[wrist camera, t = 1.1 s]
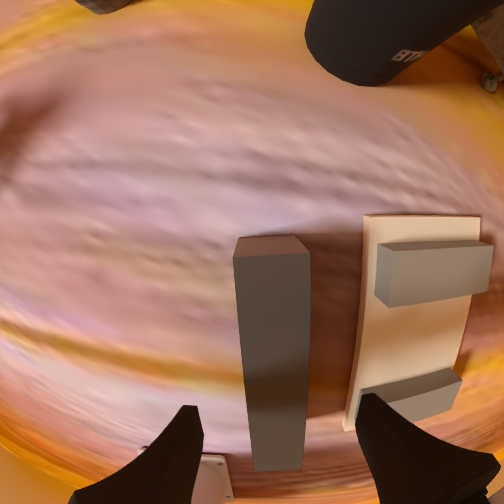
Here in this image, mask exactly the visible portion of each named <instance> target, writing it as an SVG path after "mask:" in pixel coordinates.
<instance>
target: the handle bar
mask: <svg viewBox="0 0 504 504" xmlns="http://www.w3.org/2000/svg"><path fill="white" fill-rule="evenodd" d="M233 266H234V278H235V290H236V301H237V312H238V323H239V334H240V345H241V355H242V365H243V375H244V385H245V394H246V404H247V413H248V422H249V431H250V439H251V448H252V456H253V464H254V472H267V471H282V470H293V469H302V462H303V452H304V441H305V429H306V415H307V400H308V382H309V359H310V320H311V264H310V252H309V251H308V249H307V248H306V247H305V246H304V245H303V244H302V243H301V242H300V241H299V240H298V239H297V238H296V237H295V236H294V235H293V234H290V235H273V236H257V237H241V238H238V242H237V245H236V248H235V252H234V255H233Z"/></svg>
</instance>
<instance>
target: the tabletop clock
mask: <svg viewBox="0 0 504 504" xmlns="http://www.w3.org/2000/svg"><path fill="white" fill-rule="evenodd" d="M471 26H472V28H473V29H474V31H475V32H476V34H477V36H478V37H479V39H480V40H481V41H482V43H483V44H484V46H485V47H486V48H487V50H488V51H489V53H490V54H491V56H492V57H493V59H494V60H495V62H496V63H497V65H498V66H499V68H500V69H501V71H500V72H499V73H497V74H496V75H493V74H491V73H489V72H484V73H483V74H482V75H481V77H480V82H481V85H482V87H483V88H484V89H485V90H487V91H490V92H493V91H495V90H496V89H497V86H498V81H501V80H504V4H502V5H500V6H499V7H497V8H495V9H494V10H492V11H490V12H489V13H487V14H486V15H484V16H482V17H481V18H479V19H477V20H476V21H474V22H473V23H471Z"/></svg>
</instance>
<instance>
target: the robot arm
mask: <svg viewBox="0 0 504 504" xmlns="http://www.w3.org/2000/svg"><path fill="white" fill-rule="evenodd" d="M355 429H356V433H357V437H358V441H359V444H360V446H361V449H362V451H363V454H364V456H365V459H366V461H367V463H368V466H369V468H370V471H371V473H372V476H373V478H374V481H375V484H376V488H377V492H378V496H379V501H380V504H504V487H503V488H501V489H500V490H499V491H497V492H496V493H494V494H493V495H492V496H490V497H489V498H488V499H487V497H486V496H485V495H486V494H487V493H488V491H487V489H486V486H487V485H488V484H489V483H490V482H491V481H492V480H493V479H494V477H495V476H496V475H497V474H498V472H499V471H500V468H501V465H500V464H499V462H498V461H497V460H496V458H495V457H494V456H493V454H490V453H483V452H477V451H472V450H468V449H464V448H461V447H458V446H455V445H452V444H450V443H447V442H445V441H442V440H440V439H438V438H436V437H434V436H432V435H430V434H428V433H427V432H425V431H423V430H422V429H420V428H418V427H417V426H415V425H414V424H412V423H411V422H410V421H408V420H407V419H405V418H404V417H403V416H402V415H400V414H399V413H398V412H397V411H395V410H394V409H393V408H392V407H391V406H389V405H388V404H387V403H386V402H385V401H383V400H382V399H381V398H380V397H379V396H378V395H376V394H375V393H368V394H363V395H361V400H360V404H359V409H358V413H357V417H356V421H355ZM203 440H204V433H203V429H202V425H201V421H200V416H199V412H198V408H197V406H191V405H183V406H182V407H181V408H180V410H179V411H178V412H177V414H176V415H175V417H174V418H173V419H172V420H171V422H170V423H169V424H168V426H167V427H166V428H165V429H164V430H163V431H162V433H161V434H160V435H159V436H158V437H157V438H156V439H155V440H154V441H153V442H152V443H151V444H150V445H149V447H148V448H142V447H140V448H138V450H137V452H138V454H139V456H138V457H136V458H135V459H134V460H133V461H131V462H130V463H129V464H127V465H126V466H125V467H123V468H122V469H120V470H119V471H117V472H116V473H114V474H112V475H110V476H108V477H107V478H105V479H103V480H101V481H99V482H97V483H95V484H92V485H90V486H87V487H84V488H82V489H79V490H76V491H74V493H73V495H72V496H71V498H70V500H69V502H68V504H225V502H234V495H233V490H232V486H231V482H230V477H229V473H228V468H227V463H226V458H225V457H224V456H222V455H206V454H202V450H203Z"/></svg>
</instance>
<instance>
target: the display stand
mask: <svg viewBox="0 0 504 504" xmlns="http://www.w3.org/2000/svg"><path fill="white" fill-rule="evenodd" d="M479 234H480V217H474V216H451V215H363V254H362V276H361V291H360V304H359V315H358V325H357V334H356V342H355V350H354V357H353V364H352V371H351V377H350V383H349V389H348V395H347V400H346V405H345V410H344V415H343V420H342V425H343V428H344V431H345V432H346V431H351V430H356V429H355V421H356V417H357V413H358V409H359V404H360V400H361V395H363V394H368V393H375V394H376V395H378V396H379V397H380V398H381V399H382V400H383V401H385V402H386V403H387V404H388V405H389V406H391V407H392V408H393V409H394V410H395V411H397V412H398V413H399V414H400V415H402V416H403V417H404V418H405V419H407V420H408V421H410V422H411V423H413V422H417V421H420V420H423V419H426V418H429V417H432V416H434V415H437V414H440V413H443V412H445V411H448V410H450V409H451V407H452V405H453V403H454V400H455V398H456V395H457V393H458V391H459V388H460V385H461V383H462V379H461V378H460V377H459V376H458V375H457V374H456V373H455V372H454V371H453V368H454V364H455V361H456V358H457V355H458V351H459V348H460V345H461V341H462V337H463V333H464V329H465V325H466V321H467V317H468V312H469V307H470V302H471V297H472V294H478V293H483V292H487V290H488V284H489V278H490V271H491V264H492V256H493V246H494V245H490V244H487V243H484V242H480V241H479Z"/></svg>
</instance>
